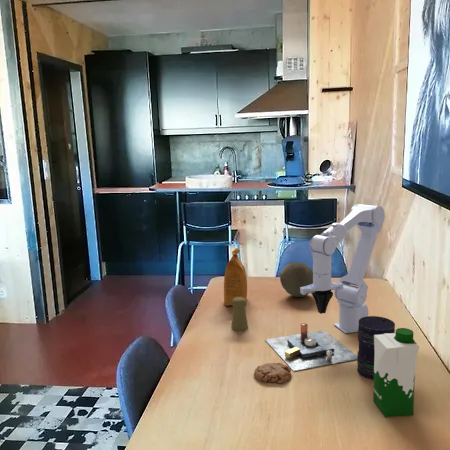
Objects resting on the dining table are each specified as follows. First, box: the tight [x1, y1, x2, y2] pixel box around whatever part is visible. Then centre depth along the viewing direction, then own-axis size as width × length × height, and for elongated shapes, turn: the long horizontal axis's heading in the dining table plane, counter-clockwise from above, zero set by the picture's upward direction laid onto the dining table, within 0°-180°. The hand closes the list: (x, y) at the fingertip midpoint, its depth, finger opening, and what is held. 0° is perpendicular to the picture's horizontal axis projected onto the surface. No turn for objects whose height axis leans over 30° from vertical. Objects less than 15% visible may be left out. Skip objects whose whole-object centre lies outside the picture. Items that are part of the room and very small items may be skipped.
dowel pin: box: [326, 350, 332, 361], centre depth 136 cm, size 2×2×3 cm
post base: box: [264, 329, 358, 373], centre depth 143 cm, size 22×22×3 cm
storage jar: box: [356, 315, 396, 381], centre depth 127 cm, size 10×10×15 cm
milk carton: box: [372, 327, 420, 418], centre depth 110 cm, size 9×9×20 cm
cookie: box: [253, 362, 293, 384], centre depth 128 cm, size 10×11×3 cm
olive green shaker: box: [231, 297, 249, 332], centre depth 161 cm, size 6×6×11 cm
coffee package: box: [223, 247, 248, 307], centre depth 185 cm, size 10×12×22 cm
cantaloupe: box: [279, 261, 313, 298], centre depth 190 cm, size 14×14×15 cm
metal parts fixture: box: [285, 322, 334, 359], centre depth 142 cm, size 15×11×6 cm
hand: (321, 312), depth 148 cm, fingers closed
